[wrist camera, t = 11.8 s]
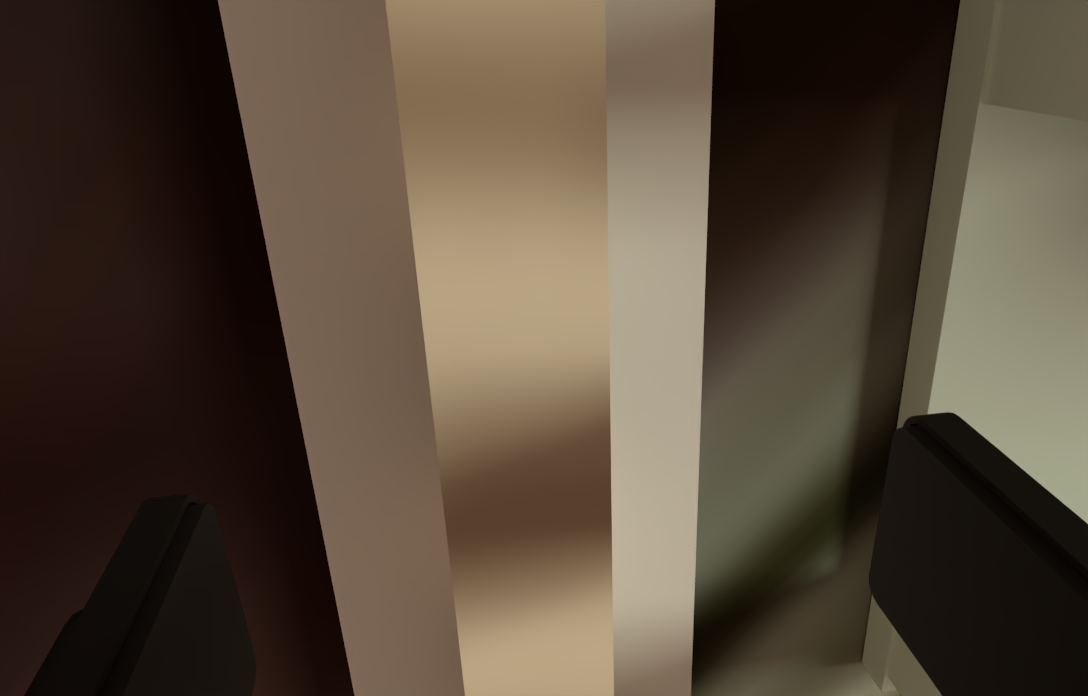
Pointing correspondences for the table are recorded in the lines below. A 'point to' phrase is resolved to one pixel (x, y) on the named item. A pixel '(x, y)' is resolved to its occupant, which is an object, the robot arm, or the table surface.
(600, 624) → the rail
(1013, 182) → the cradle stand
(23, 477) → the table surface
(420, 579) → the felt mat
